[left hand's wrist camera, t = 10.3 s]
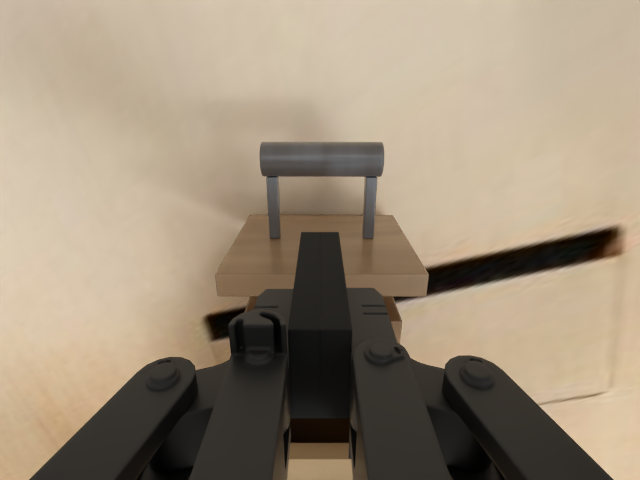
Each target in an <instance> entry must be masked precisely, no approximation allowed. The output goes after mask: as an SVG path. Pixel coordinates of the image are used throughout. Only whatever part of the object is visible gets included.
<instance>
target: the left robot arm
mask: <svg viewBox="0 0 640 480" xmlns="http://www.w3.org/2000/svg"><path fill="white" fill-rule="evenodd" d="M228 329H229V338H230V347H231V357H230V360H228V361H226V362H224V363H222V364H219V365H216V366H213V367H209V368H204V369H200V370H195V366H194V365H193V364H192V362H191V361H190V360H187V359H184V358H182V357H168V358H164V359H159V360H157V361H154V362H152V363H150V364H148V365H146V366H145V367H143V368H142V369H141V370H140V371H138V372H137V373H136V374H135V375H134V376H133V377H132V378H131V379H130V380H129V381H128V382H127V383H126V384H125V385H124V386H123V387H122V388H121V389H120V390H119V391H118V392H117V393H116V394H115V395H114V396H113V397H112V398H111V399H110V400H109V401H108V402H107V403H106V404H105V405H104V406H103V407H102V408H101V409H100V410H99V411H98V412H97V413H96V414H95V415H94V416H93V417H92V418H91V419H90V420H89V421H88V422H87V423H86V424H85V425H84V426H83V427H82V428H81V429H80V430H79V431H78V432H77V433H76V434H75V435H74V436H73V437H72V438H71V439H70V440H69V441H68V442H67V443H66V444H65V445H64V446H63V447H62V448H61V449H60V450H59V451H58V452H57V453H56V454H55V455H54V456H53V457H52V458H51V459H50V460H49V461H48V462H47V463H46V464H45V465H44V466H43V467H42V468H41V469H40V470H39V471H38V472H37V473H36V474H35V475H34V476H33V477H32V478H31V479H30V480H287V475H288V463H289V451H290V439H291V432H290V417H291V418H349V415H350V432H349V457H348V459H351V463H352V475H353V480H613V479H612V478H611V477H610V476H609V475H608V474H607V473H606V472H605V471H604V470H603V469H602V468H601V467H600V466H599V465H598V464H597V463H596V462H595V461H594V460H593V459H592V458H591V457H590V456H589V455H588V454H587V453H586V452H585V451H584V450H583V449H582V448H581V447H580V446H579V445H578V444H577V443H576V442H575V441H574V440H573V439H572V438H571V437H570V436H569V435H568V434H567V433H566V432H565V431H564V430H563V429H562V428H561V427H560V426H559V425H558V424H557V423H556V422H555V421H554V420H552V419H551V418H550V417H549V416H548V415H547V414H546V413H545V412H544V411H543V410H542V409H541V408H540V407H539V406H538V405H537V404H536V403H535V402H534V401H533V400H532V399H531V398H530V397H529V396H528V395H527V394H526V393H525V392H524V391H523V390H522V389H521V388H520V387H519V386H518V385H517V384H516V383H515V382H514V381H513V380H512V379H511V378H510V377H509V376H508V375H507V374H506V373H505V372H504V371H503V370H502V369H500V368H499V367H498V366H496V365H495V364H494V363H492V362H489V361H487V360H485V359H483V358H479V357H474V356H457V357H454V358H452V359H450V360H449V361H448V362H447V363H446V365H445V369H442V368H438V367H434V366H429V365H426V364H422V363H419V362H417V361H415V360H413V359H411V358H410V357H409V354H408V352H407V351H406V349H405V348H404V347H403V346H402V345H400V344H399V343H397V340H396V337H395V333H394V330H393V327H392V324H391V321H390V317H389V315H388V311H387V308H386V305H385V302H384V298H383V296H382V295H381V294H380V293H379V292H378V291H377V290H376V289H375V288H346V281H345V274H344V266H343V259H342V252H341V245H340V237H339V232H301V237H300V245H299V252H298V259H297V266H296V274H295V281H294V288H293V289H266V290H264V291H263V292H262V293H261V294H260V295H259V296H258V297H257V300H256V303H255V306H254V309H253V310H251V311H247V312H244V313H241V314H239V315H238V316H236V317H235V318H233V319H232V321H231V322H230V323H229V325H228Z"/></svg>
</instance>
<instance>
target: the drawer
mask: <svg viewBox="0 0 640 480" xmlns="http://www.w3.org/2000/svg"><path fill="white" fill-rule="evenodd" d="M383 167H384V147H383V143H382V142H262V143H261V146H260V168H261V173H262V176H267V178H266V179H267V198H268V215H250V216H249V218H248V220H247V221H246V223H245V225H244V226H243V228H242V230H241V231H240V233H239V235H238V236H237V238H236V240H235V242H234V243H233V245H232V247H231V248H230V250H229V252H228V253H227V255H226V257H225V259H224V260H223V262H222V264H221V265H220V267H219V269H218V270H217V272H216V274H215V277H216V286H217V294H218V296H250V298H249V301H248V304H247V307H246V310H245V312H247V311H251V310H253V309H254V306H255V303H256V300H257V297H258V296H259V295H260V294H261V293H262V292H263V291H264V290H266V289H293V288H294V281H295V274H296V266H297V259H298V252H299V245H300V237H301V232H339V237H340V245H341V252H342V259H343V266H344V274H345V281H346V288H375V289H376V290H377V291H378V292H379V293H380V294H381V295H382V296H383V298H384V302H385V305H386V308H387V311H388V315H389V317H390V321H391V324H392V327H393V330H394V333H395V337H396V340H397V343H399V344H400V337H401V327H402V320H401V318H400V315H399V312H398V309H397V307H396V304H395V301H394V298H393V296H426V293H427V285H428V277H429V275H428V273H427V271H426V269H425V268H424V266H423V264H422V263H421V261H420V259H419V258H418V256H417V255H416V253H415V251H414V250H413V248H412V246H411V245H410V243H409V241H408V240H407V238H406V237H405V235H404V233H403V232H402V230H401V228H400V227H399V225H398V223H397V222H396V220H395V218H394V217H393V216H392V215H375V206H376V189H377V177H380V176H381V175H382V172H383ZM279 176H326V177H365V186H364V207H363V215H280V199H279ZM290 432H291V439H290V443H349V432H350V415H349V418H291V417H290Z"/></svg>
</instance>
